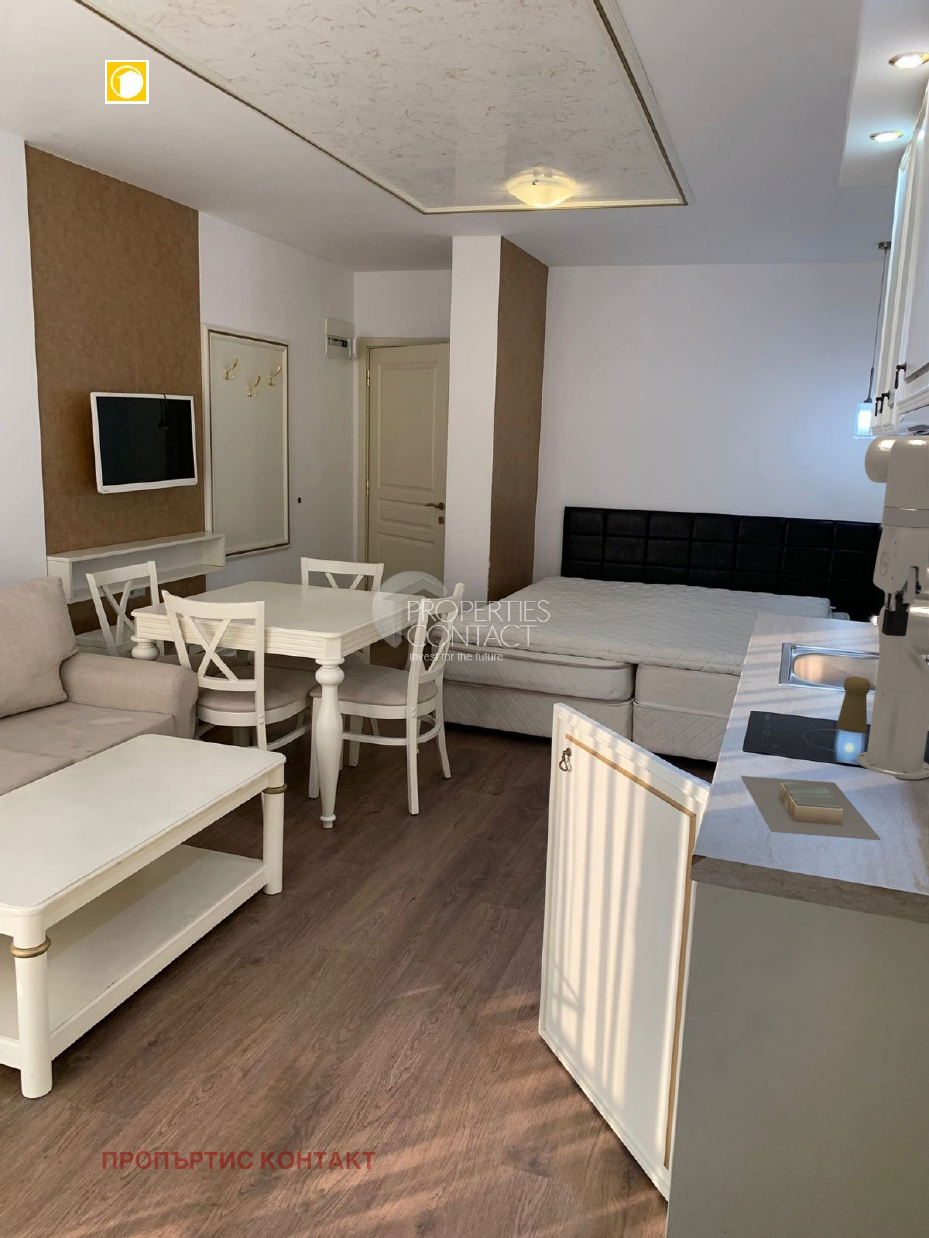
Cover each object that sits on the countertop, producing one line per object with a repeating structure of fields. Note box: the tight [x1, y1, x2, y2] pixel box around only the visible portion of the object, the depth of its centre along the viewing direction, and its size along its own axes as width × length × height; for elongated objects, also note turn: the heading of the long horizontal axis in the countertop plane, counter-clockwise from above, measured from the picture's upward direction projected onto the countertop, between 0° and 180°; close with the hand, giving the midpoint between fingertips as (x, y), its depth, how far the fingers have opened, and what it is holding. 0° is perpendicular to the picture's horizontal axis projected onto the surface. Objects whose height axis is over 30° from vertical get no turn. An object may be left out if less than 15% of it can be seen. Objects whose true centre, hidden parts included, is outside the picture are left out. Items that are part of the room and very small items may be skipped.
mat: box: [740, 775, 882, 841], centre depth 151 cm, size 24×16×1 cm, turn 174°
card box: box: [779, 782, 843, 825], centre depth 148 cm, size 3×7×10 cm
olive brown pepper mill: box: [836, 676, 871, 734], centre depth 196 cm, size 6×6×11 cm
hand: (893, 634), depth 149 cm, fingers closed
